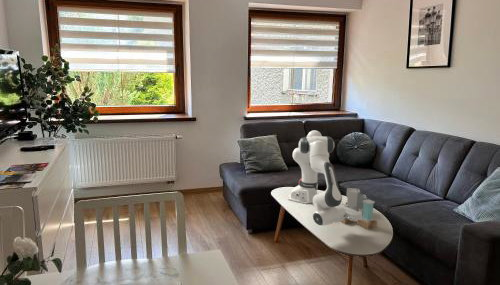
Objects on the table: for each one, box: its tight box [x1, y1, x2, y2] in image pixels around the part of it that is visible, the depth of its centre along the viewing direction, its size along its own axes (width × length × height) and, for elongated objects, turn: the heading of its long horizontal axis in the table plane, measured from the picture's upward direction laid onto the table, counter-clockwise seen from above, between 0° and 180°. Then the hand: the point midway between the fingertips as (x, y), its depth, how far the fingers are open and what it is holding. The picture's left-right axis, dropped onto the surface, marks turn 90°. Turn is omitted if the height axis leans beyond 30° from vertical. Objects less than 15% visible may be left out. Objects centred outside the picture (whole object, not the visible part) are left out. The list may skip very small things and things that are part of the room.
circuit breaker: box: [345, 187, 368, 211], centre depth 247 cm, size 8×14×15 cm, turn 78°
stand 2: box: [356, 218, 378, 230], centre depth 226 cm, size 8×8×4 cm
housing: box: [362, 198, 376, 222], centre depth 224 cm, size 5×5×12 cm
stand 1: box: [339, 218, 356, 225], centre depth 233 cm, size 8×8×4 cm
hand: (354, 209), depth 217 cm, fingers open, 8 cm apart
